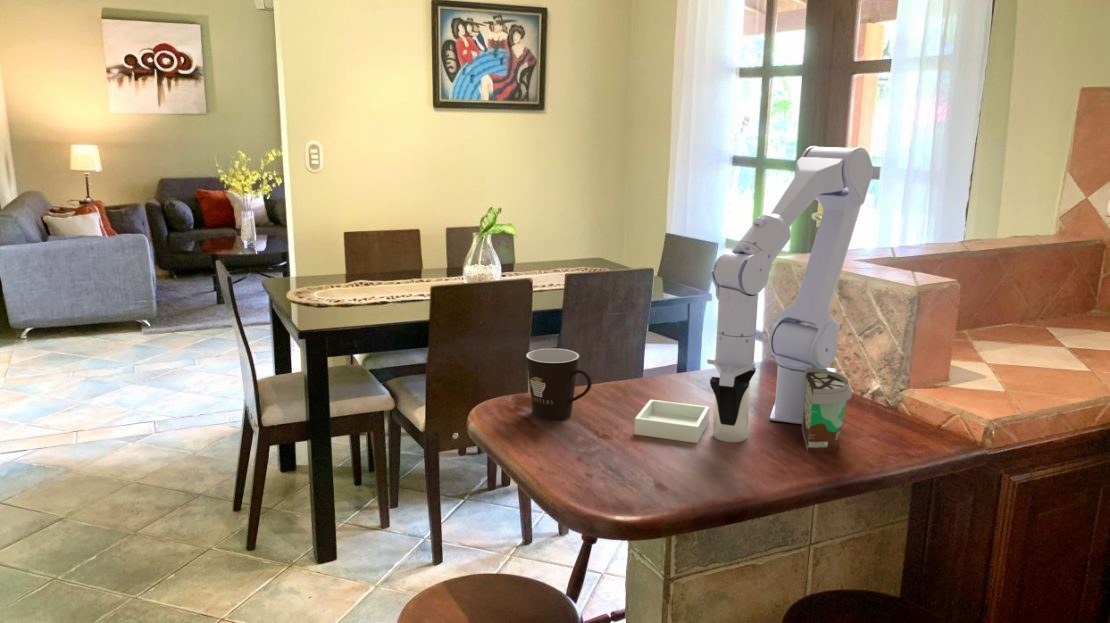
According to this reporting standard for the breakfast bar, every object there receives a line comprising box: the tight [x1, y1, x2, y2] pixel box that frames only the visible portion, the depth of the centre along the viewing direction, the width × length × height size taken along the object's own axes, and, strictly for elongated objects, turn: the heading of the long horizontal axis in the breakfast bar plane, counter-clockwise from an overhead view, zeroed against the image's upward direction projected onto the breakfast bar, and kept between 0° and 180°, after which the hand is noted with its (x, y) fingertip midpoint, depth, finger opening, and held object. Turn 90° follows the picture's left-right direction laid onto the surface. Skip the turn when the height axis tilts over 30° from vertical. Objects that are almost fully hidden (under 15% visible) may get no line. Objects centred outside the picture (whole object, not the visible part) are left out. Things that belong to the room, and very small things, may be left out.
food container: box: [801, 367, 853, 453], centre depth 124 cm, size 12×6×10 cm, turn 168°
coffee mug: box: [525, 348, 592, 421], centre depth 133 cm, size 12×9×10 cm
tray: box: [634, 399, 711, 444], centre depth 130 cm, size 10×10×3 cm
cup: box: [712, 385, 751, 443], centre depth 126 cm, size 5×5×8 cm
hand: (730, 418), depth 126 cm, fingers closed on cup, 5 cm apart
